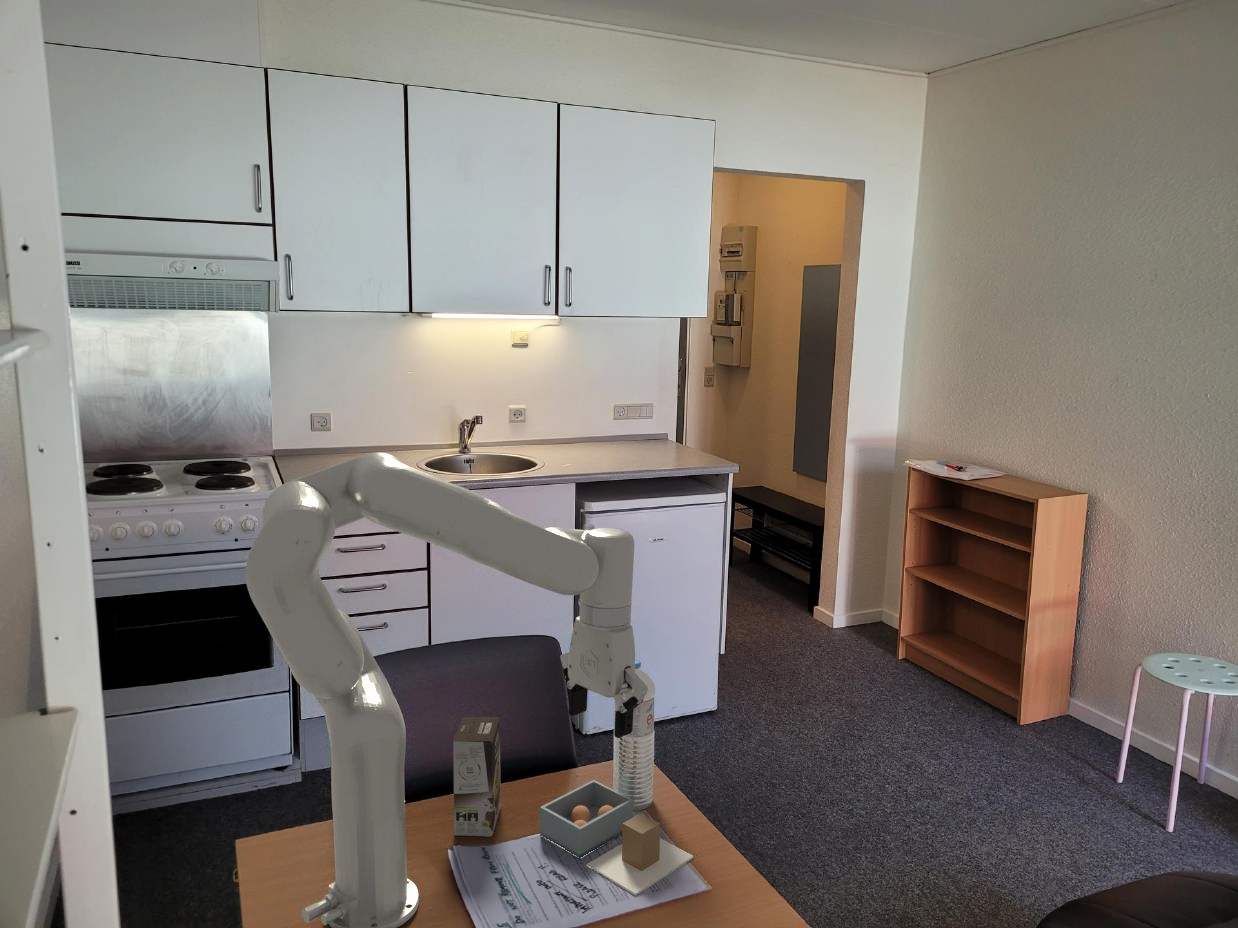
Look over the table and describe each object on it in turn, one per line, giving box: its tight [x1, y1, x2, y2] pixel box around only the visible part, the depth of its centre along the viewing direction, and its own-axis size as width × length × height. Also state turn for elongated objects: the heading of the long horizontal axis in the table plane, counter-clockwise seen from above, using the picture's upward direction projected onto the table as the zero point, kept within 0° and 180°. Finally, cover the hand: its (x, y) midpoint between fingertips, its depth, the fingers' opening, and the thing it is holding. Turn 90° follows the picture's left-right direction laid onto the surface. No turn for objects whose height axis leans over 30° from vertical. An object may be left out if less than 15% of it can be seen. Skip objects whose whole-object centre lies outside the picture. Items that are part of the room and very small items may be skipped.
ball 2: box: [574, 820, 587, 827], centre depth 143 cm, size 3×3×3 cm
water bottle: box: [612, 659, 656, 812], centre depth 154 cm, size 7×7×25 cm
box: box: [539, 779, 635, 858], centre depth 147 cm, size 12×9×5 cm
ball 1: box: [571, 805, 590, 822], centre depth 148 cm, size 3×3×3 cm
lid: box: [586, 813, 694, 897], centre depth 139 cm, size 13×10×7 cm
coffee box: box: [452, 716, 502, 837], centre depth 149 cm, size 9×6×16 cm
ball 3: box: [598, 805, 613, 817], centre depth 148 cm, size 3×3×3 cm
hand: (600, 723), depth 137 cm, fingers open, 9 cm apart
